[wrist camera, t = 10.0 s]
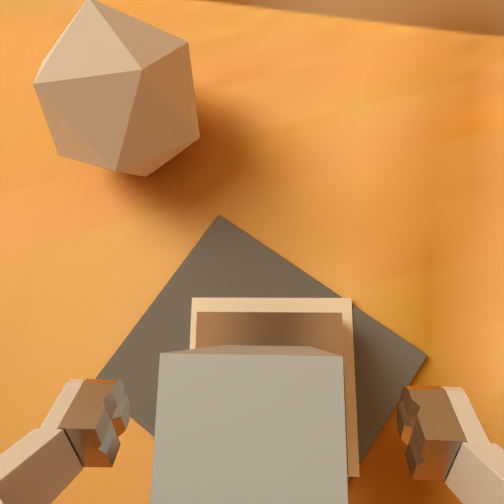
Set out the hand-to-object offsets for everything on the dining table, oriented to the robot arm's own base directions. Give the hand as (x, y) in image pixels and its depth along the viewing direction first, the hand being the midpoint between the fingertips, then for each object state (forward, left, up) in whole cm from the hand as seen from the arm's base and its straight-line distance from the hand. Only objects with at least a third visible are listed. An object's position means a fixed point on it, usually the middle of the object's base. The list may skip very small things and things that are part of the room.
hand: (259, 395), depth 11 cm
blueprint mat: (-1, -1, -10) cm, 10 cm away
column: (0, -1, -7) cm, 7 cm away
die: (-15, +7, -10) cm, 20 cm away
